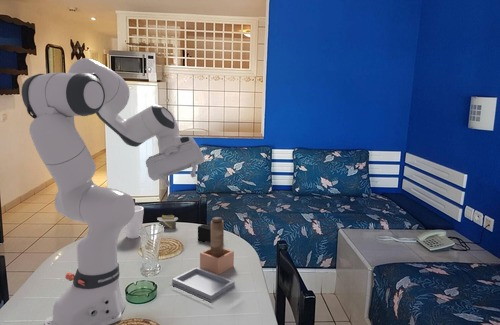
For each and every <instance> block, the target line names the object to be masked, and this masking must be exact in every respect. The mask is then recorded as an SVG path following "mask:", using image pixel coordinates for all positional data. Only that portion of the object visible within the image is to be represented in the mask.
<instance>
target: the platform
mask: <svg viewBox="0 0 500 325" xmlns="http://www.w3.org/2000/svg"><path fill="white" fill-rule="evenodd" d="M156 219H157V221H158V222H159V224H161V225H163V226H165V227H164V228H170V229H173V228H177V226H176V224H177V222H176V221H178V220H179V218H178V217H176V216H175V215H173V214H170V215H169V214H168V215H164V214H162V215H161V217H157V218H156Z"/></svg>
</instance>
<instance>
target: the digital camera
mask: <svg viewBox="0 0 500 325" xmlns="http://www.w3.org/2000/svg"><path fill="white" fill-rule="evenodd" d="M197 242H199V243H203V244H205V243H210V244H211V224H205V223H203V224H201V225H199V226H197Z"/></svg>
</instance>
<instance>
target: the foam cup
mask: <svg viewBox="0 0 500 325" xmlns="http://www.w3.org/2000/svg"><path fill="white" fill-rule="evenodd" d="M144 210H145V208H144V206H141V205H135V213H134V216H133V218H132V220H131V221H130V222H129V223H128V224H127V225H126V226H124V229H125V234H126V238H128V239H137V238H140V237H139V235H138V233H137V232H138V230H139V229H141V228H142V229H143V221H144V220H143V219H144V214H145V213H144V212H145V211H144Z"/></svg>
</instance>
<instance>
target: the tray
mask: <svg viewBox="0 0 500 325" xmlns="http://www.w3.org/2000/svg"><path fill="white" fill-rule="evenodd" d="M171 283H172V284H174V285H172V287H174V288H177V289H179V290H182V291H183V292H186V293H188V294H190V295H192V296H195V297H197V298H200V299H202V300H204V301H206V302H209V303H212V302H211V301H212V300H214V299H216V298H217V297H219V296H221V295H222V294H224V293H225V292H227V291H229V290H230V289H232V288H233V287H235V283H236V282H235V281H234V280H231V279H229V278H226V277H225V276H222V275H220V274H219V275H217V274H215V273H212V272H209V271H207V270H204V269H202V268H200V267H198V266H196V267H193V268H191V269H189V270H187V271H185V272H183V273H181V274H180V275H177V276H175V277H174V278H172V280H171ZM175 285H176V286H175ZM177 286H178V287H177ZM181 288H182V289H181ZM184 289H185V290H184ZM186 290H187V291H186ZM188 291H189V292H188ZM191 292H192V293H191ZM195 294H196V295H195ZM200 296H201V297H200ZM202 297H203V298H202ZM205 298H206V299H207V300H206V299H205ZM209 300H211V301H209Z"/></svg>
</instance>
